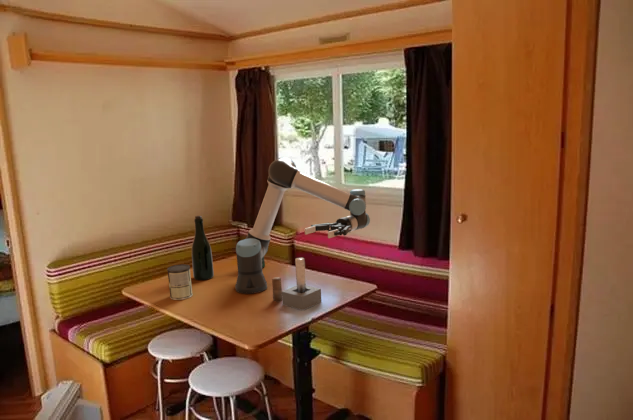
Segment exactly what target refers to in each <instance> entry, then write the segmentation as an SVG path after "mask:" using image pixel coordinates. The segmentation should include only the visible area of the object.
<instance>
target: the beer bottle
mask: <svg viewBox="0 0 633 420" xmlns="http://www.w3.org/2000/svg"><path fill="white" fill-rule="evenodd" d="M193 223H194V237H193V241H192V244H191V260H192V261H191V262H192V264H191V265H192V276H193V279H194V280H196V281H207V280H210V279H213V277H214V276H215V275H214V274H215V273H214V261H213V254H212V252H213V251H212V247H211V244H210V242H209V240H208V237H207V235H206V232H205V227H204V218H203V217H202V215H195V216H194V221H193Z"/></svg>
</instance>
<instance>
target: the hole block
mask: <svg viewBox="0 0 633 420" xmlns="http://www.w3.org/2000/svg"><path fill="white" fill-rule="evenodd" d="M320 303H322V290H321V288H319V287H315V286H310V285H307V284H306V292H304V293H298V292H297V285H295V286H292V287H290V288H287V289H285V290H282V305H283V306H287V307H289V308H294V309H297V310H300V311H305V310H307V309H309V308H311V307H314V306H316V305H318V304H320Z"/></svg>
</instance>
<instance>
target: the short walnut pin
mask: <svg viewBox="0 0 633 420" xmlns="http://www.w3.org/2000/svg"><path fill="white" fill-rule="evenodd" d="M271 282H272V283H271V284H272V298H273V299H272V300H273V302H275V301H276V302H277V303H278V302H281V301H282V291H283V290H282V277H278V276H276V277H272V278H271Z"/></svg>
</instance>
